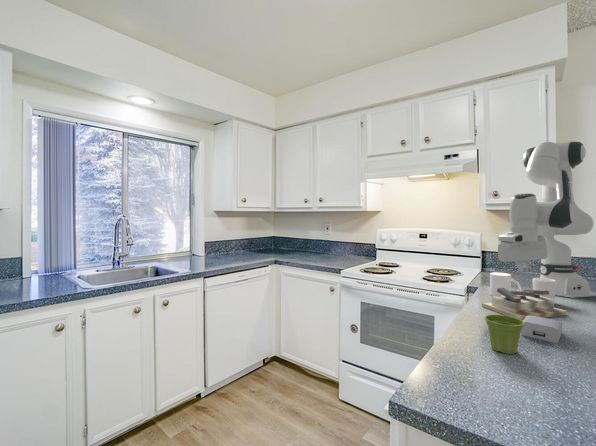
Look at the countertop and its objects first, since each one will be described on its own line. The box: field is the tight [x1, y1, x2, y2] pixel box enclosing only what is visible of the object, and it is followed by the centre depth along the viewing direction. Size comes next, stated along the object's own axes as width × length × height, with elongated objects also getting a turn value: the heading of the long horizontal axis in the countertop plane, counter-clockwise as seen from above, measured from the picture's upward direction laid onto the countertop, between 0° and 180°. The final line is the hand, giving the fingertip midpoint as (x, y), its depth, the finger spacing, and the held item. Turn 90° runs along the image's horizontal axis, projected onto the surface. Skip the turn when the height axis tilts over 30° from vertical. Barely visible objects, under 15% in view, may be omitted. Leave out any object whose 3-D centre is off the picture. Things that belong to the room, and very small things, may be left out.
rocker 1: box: [497, 288, 522, 302], centre depth 120 cm, size 3×8×2 cm, turn 14°
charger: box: [520, 315, 563, 344], centre depth 99 cm, size 5×9×15 cm
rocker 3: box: [522, 289, 549, 295], centre depth 123 cm, size 3×8×2 cm, turn 14°
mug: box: [489, 271, 522, 297], centre depth 143 cm, size 8×10×12 cm
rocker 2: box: [510, 290, 535, 296], centre depth 122 cm, size 3×8×2 cm, turn 14°
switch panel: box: [481, 295, 568, 321], centre depth 122 cm, size 22×17×6 cm
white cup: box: [532, 277, 556, 300], centre depth 132 cm, size 8×8×10 cm
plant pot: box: [484, 314, 524, 355], centre depth 87 cm, size 9×9×9 cm
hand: (522, 271), depth 118 cm, fingers closed
